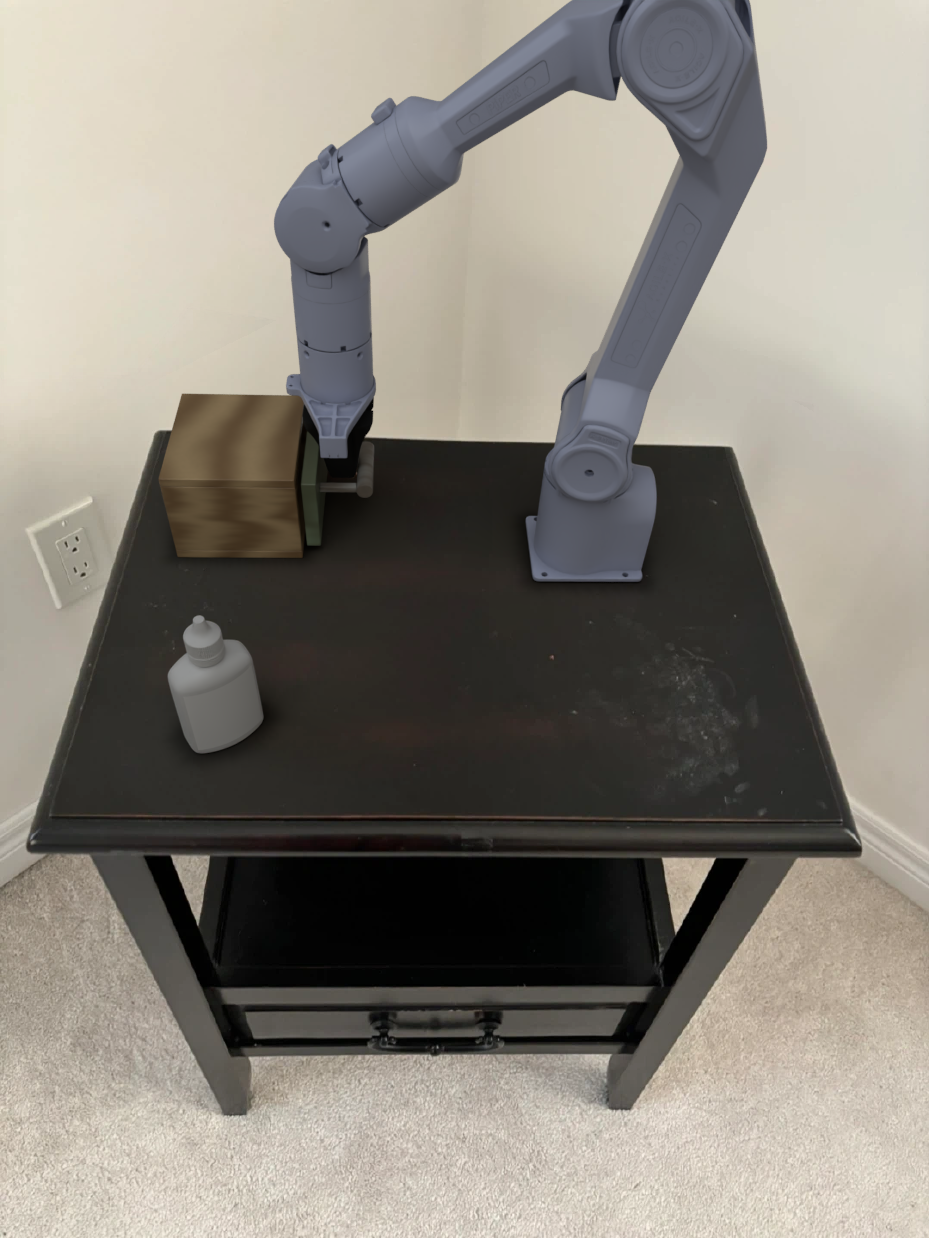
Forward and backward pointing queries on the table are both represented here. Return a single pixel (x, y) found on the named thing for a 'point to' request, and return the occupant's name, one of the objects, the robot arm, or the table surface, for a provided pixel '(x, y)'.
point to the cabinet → (235, 476)
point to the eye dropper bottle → (214, 689)
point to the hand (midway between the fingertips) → (342, 472)
